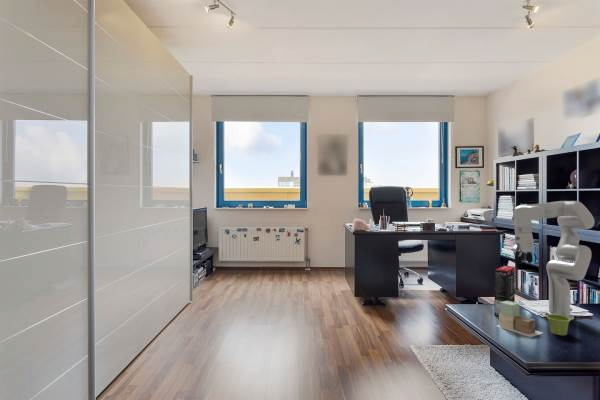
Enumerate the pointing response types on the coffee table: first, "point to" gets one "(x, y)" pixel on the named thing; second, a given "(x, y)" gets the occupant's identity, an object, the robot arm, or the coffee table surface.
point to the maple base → (507, 321)
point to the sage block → (509, 308)
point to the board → (523, 333)
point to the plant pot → (558, 324)
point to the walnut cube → (525, 325)
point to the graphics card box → (504, 287)
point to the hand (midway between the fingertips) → (523, 262)
